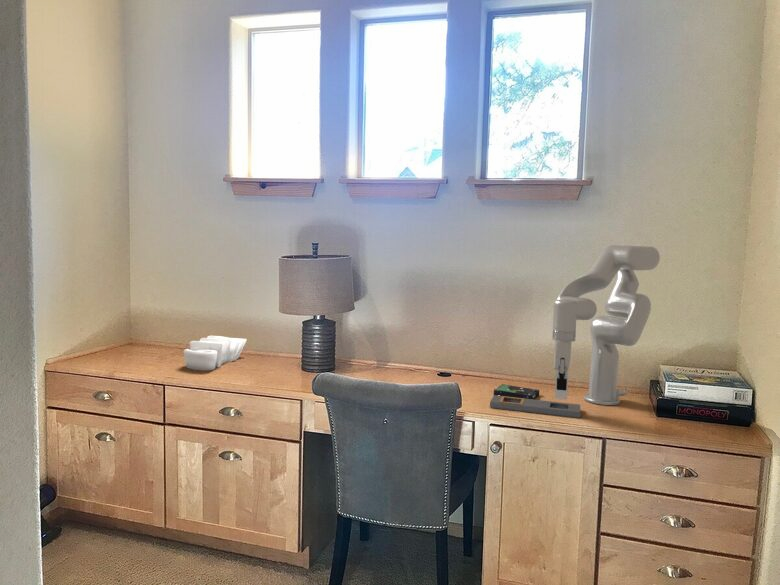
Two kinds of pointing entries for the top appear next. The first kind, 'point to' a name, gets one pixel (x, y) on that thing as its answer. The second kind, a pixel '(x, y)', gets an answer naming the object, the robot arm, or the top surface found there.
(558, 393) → the peg
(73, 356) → the top surface
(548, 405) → the grey slotted board
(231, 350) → the wavy white extrusion
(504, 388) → the disk drive
